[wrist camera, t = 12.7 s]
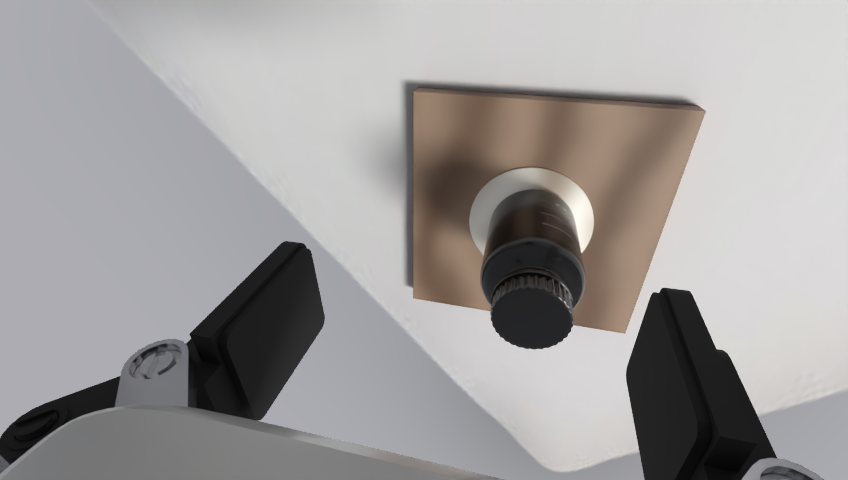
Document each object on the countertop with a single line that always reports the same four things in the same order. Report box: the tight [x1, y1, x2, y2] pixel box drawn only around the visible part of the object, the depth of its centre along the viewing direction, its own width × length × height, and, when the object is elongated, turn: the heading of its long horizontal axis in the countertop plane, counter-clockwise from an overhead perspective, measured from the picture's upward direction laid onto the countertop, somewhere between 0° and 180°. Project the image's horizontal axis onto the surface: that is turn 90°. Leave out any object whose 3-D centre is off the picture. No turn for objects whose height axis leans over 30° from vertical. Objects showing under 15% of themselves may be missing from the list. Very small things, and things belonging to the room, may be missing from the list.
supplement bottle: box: [480, 189, 586, 349], centre depth 29 cm, size 7×7×12 cm
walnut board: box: [413, 88, 706, 333], centre depth 35 cm, size 20×20×2 cm
